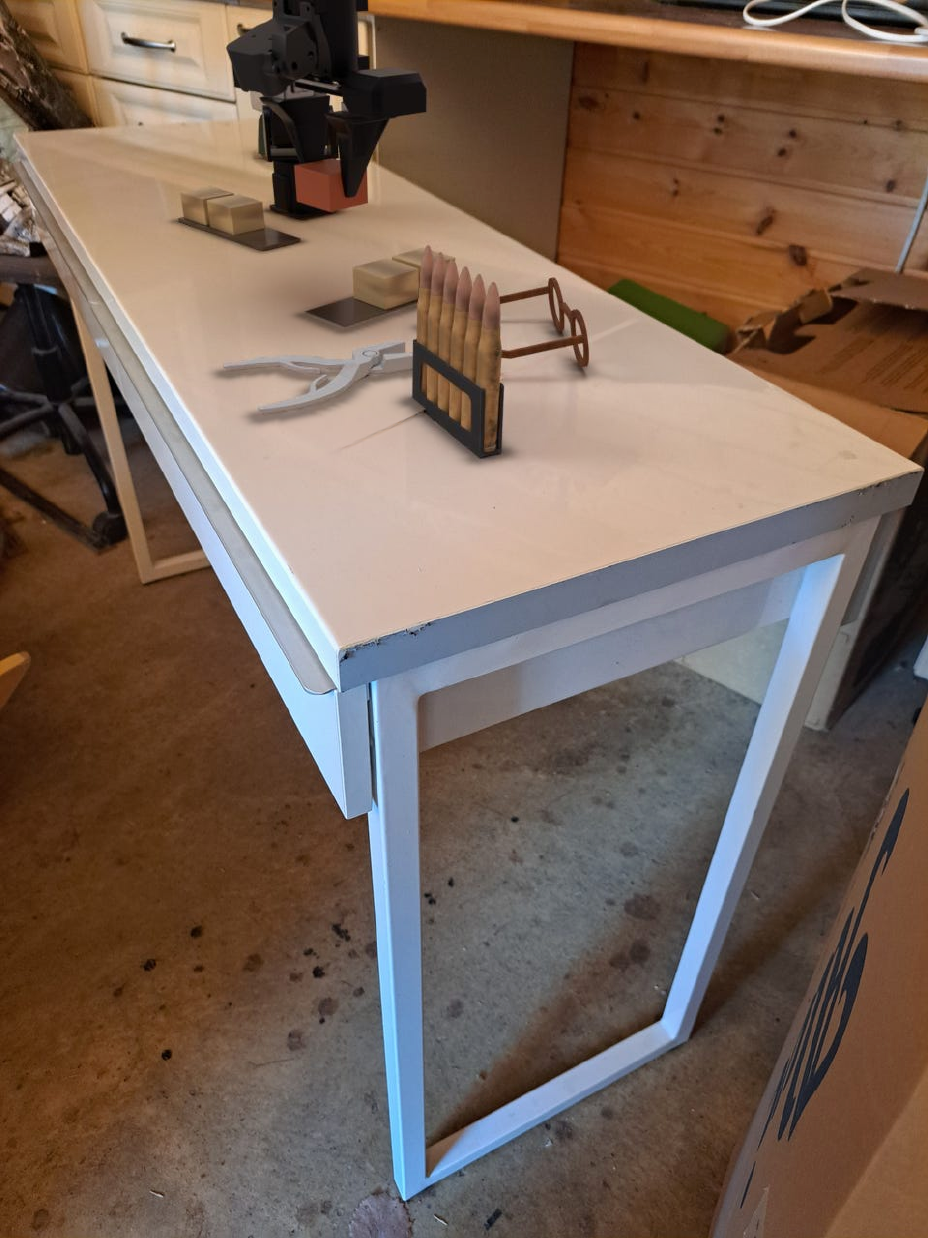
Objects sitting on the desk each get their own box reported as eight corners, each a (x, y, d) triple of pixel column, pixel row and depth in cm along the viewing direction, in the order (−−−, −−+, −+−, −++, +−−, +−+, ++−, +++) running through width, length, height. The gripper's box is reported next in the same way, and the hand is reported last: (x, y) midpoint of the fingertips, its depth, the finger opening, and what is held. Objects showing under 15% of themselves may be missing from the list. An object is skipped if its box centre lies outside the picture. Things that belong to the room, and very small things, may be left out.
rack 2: (422, 278, 94) (422, 245, 92) (461, 291, 91) (462, 257, 89) (304, 315, 84) (301, 279, 82) (344, 330, 81) (342, 293, 79)
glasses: (590, 379, 74) (597, 320, 71) (438, 383, 73) (439, 323, 69) (554, 323, 85) (559, 270, 81) (419, 326, 83) (420, 271, 80)
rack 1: (178, 221, 108) (173, 191, 106) (216, 213, 111) (212, 184, 109) (262, 250, 99) (259, 219, 97) (300, 241, 103) (298, 210, 101)
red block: (334, 193, 82) (332, 157, 81) (368, 203, 80) (367, 167, 78) (296, 201, 80) (293, 165, 78) (330, 212, 77) (328, 174, 76)
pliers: (220, 353, 72) (386, 327, 78) (223, 371, 73) (387, 344, 79) (259, 400, 65) (437, 367, 71) (262, 419, 66) (437, 385, 72)
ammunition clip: (411, 400, 70) (410, 243, 62) (431, 396, 71) (433, 240, 63) (480, 458, 63) (488, 288, 55) (502, 452, 63) (513, 284, 56)
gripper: (164, -29, 69) (195, 185, 79) (321, -9, 60) (334, 231, 70) (276, -31, 76) (291, 167, 86) (432, -13, 67) (429, 207, 77)
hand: (331, 191), depth 79 cm, fingers closed on red block, 4 cm apart
